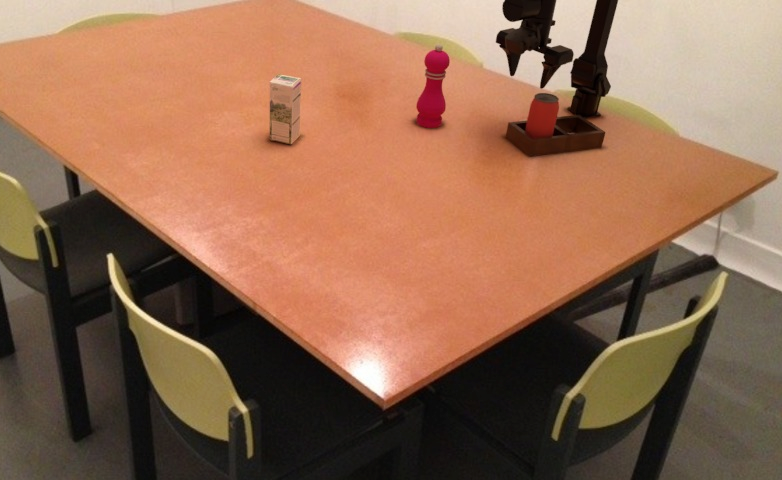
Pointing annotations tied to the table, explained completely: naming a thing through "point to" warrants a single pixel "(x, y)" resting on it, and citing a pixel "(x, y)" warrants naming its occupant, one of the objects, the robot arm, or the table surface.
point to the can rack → (557, 136)
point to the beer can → (542, 115)
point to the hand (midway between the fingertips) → (526, 81)
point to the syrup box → (285, 108)
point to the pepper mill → (433, 89)
